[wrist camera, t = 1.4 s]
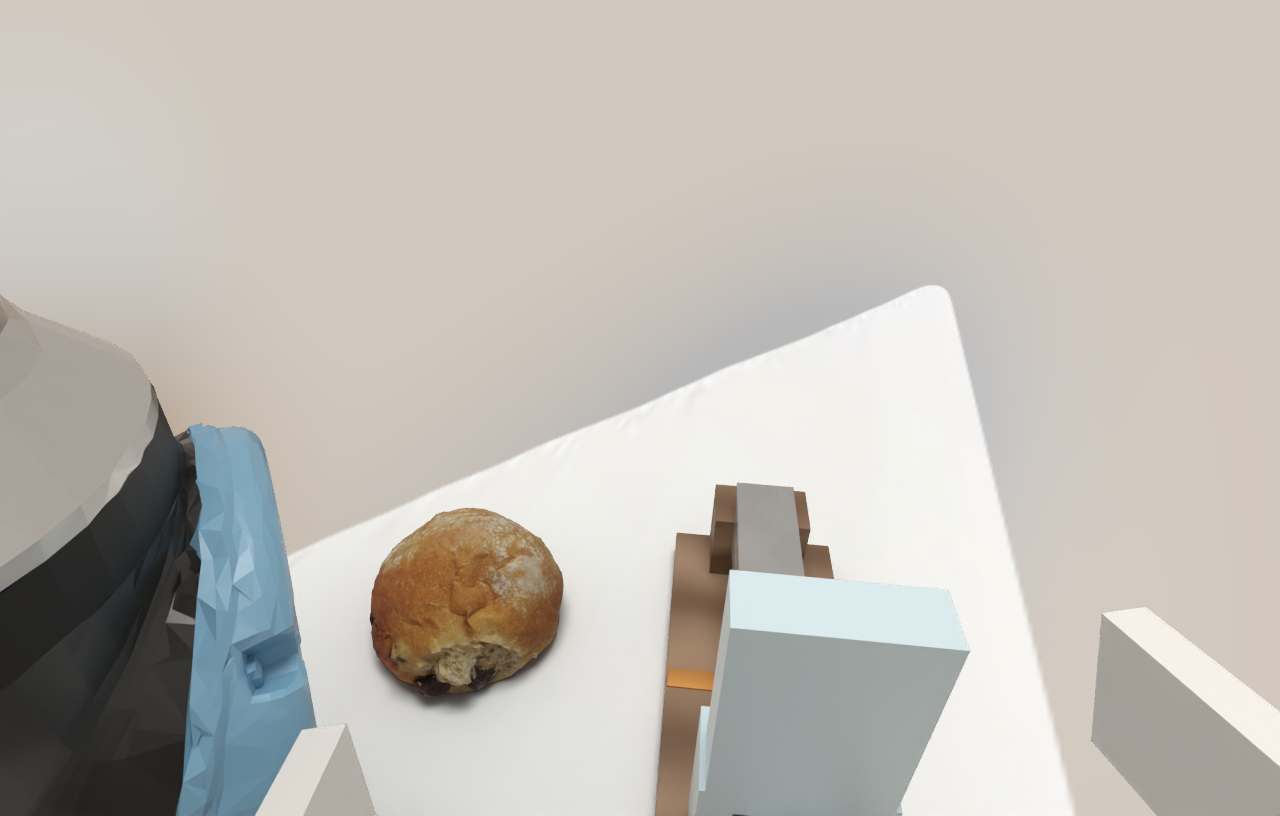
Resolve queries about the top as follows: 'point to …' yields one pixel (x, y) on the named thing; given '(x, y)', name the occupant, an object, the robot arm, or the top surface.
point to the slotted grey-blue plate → (822, 696)
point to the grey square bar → (766, 531)
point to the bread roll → (464, 602)
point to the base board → (704, 638)
